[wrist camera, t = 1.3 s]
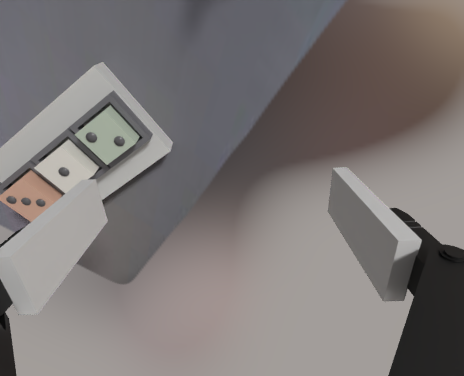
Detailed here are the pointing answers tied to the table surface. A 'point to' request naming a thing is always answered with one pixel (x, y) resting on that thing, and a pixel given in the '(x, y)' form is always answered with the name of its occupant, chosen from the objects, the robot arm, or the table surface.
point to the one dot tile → (67, 166)
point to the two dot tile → (108, 135)
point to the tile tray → (74, 119)
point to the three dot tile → (30, 196)
